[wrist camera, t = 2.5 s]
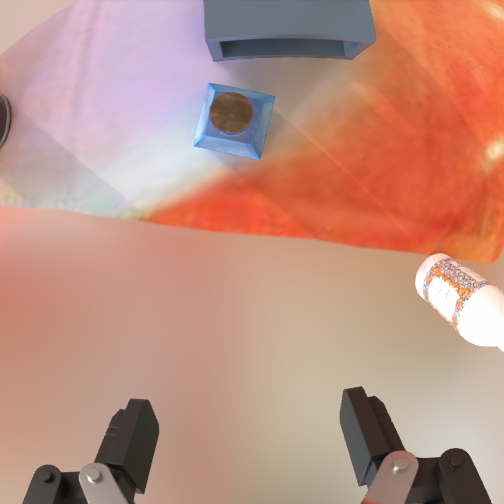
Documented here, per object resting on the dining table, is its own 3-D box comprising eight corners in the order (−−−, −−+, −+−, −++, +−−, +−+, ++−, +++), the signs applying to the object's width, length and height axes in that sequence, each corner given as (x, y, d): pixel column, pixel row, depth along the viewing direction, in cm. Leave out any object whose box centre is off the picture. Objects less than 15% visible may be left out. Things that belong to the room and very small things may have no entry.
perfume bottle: (270, 106, 32) (282, 82, 20) (257, 158, 33) (262, 161, 22) (215, 94, 31) (199, 66, 20) (202, 147, 33) (180, 144, 21)
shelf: (213, 61, 30) (205, 39, 23) (209, -8, 27) (202, -39, 19) (352, 59, 30) (376, 40, 22) (341, -8, 27) (359, -36, 19)
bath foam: (419, 251, 37) (518, 324, 18) (456, 252, 37) (553, 316, 18) (409, 298, 39) (490, 387, 20) (446, 296, 39) (528, 373, 20)
